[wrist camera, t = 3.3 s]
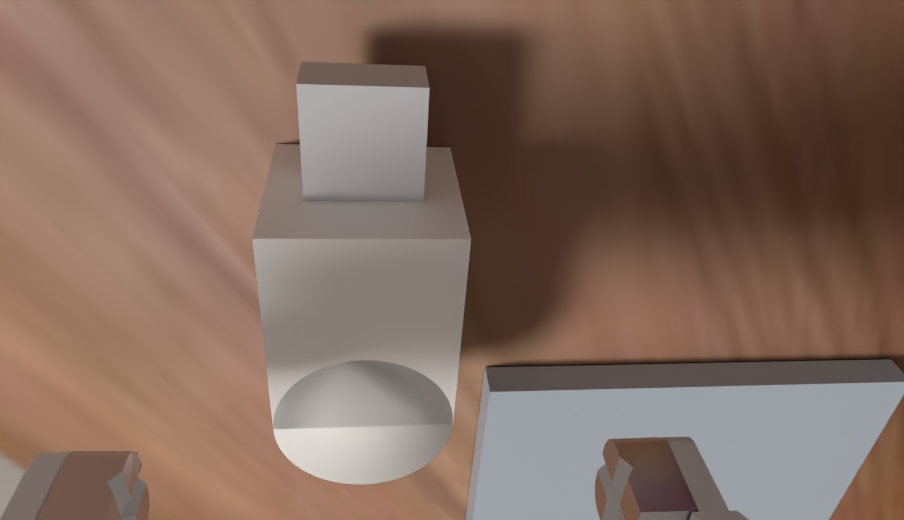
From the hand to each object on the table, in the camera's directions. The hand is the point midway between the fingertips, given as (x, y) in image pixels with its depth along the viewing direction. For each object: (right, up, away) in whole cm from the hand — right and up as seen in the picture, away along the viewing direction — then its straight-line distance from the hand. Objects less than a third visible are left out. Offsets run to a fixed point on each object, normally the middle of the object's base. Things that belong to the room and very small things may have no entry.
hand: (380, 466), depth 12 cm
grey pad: (+8, -5, +13) cm, 16 cm away
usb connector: (-1, +4, +5) cm, 7 cm away
